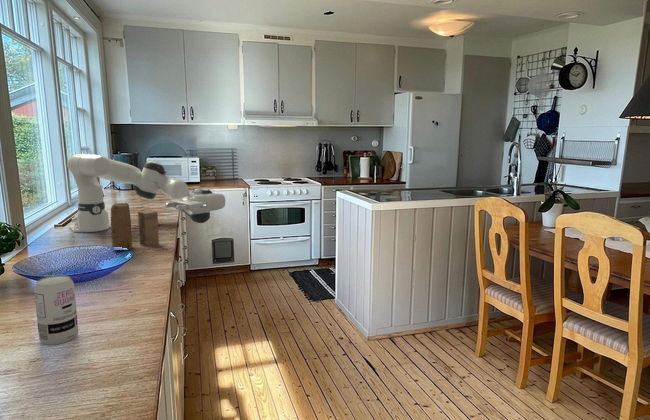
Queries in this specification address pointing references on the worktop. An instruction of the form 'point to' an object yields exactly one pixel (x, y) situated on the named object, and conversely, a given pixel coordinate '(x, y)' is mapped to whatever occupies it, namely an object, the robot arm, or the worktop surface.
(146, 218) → the walnut block
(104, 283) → the worktop surface
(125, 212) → the block
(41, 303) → the supplement can
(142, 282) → the worktop surface
